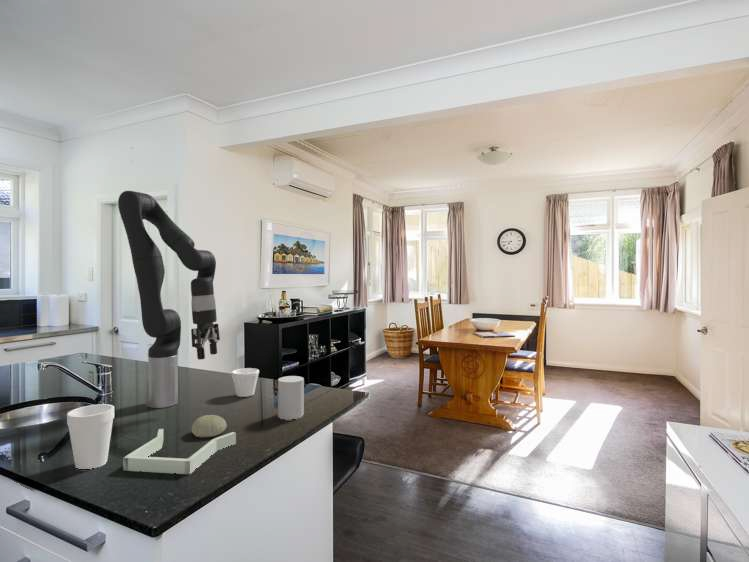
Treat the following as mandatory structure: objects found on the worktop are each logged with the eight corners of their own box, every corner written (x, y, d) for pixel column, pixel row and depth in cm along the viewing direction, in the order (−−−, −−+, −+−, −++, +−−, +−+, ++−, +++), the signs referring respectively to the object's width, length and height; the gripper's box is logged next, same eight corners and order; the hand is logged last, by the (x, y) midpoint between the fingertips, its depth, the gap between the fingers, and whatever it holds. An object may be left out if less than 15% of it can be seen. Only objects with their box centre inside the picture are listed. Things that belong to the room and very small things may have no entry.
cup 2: (308, 413, 137) (308, 377, 137) (295, 421, 130) (295, 383, 129) (286, 410, 140) (286, 375, 140) (273, 418, 132) (273, 380, 132)
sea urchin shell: (217, 434, 114) (199, 412, 115) (199, 452, 115) (181, 430, 116) (235, 422, 123) (217, 402, 124) (218, 439, 124) (201, 419, 125)
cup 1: (260, 397, 154) (260, 372, 154) (232, 400, 151) (232, 375, 151) (257, 390, 164) (257, 367, 164) (230, 393, 160) (230, 369, 160)
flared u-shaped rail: (111, 469, 97) (111, 457, 97) (159, 439, 115) (159, 428, 115) (202, 475, 95) (202, 462, 95) (236, 443, 113) (236, 432, 113)
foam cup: (83, 456, 104) (83, 404, 104) (122, 454, 105) (122, 403, 105) (58, 474, 95) (57, 417, 95) (100, 472, 96) (100, 416, 95)
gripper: (204, 308, 148) (207, 353, 148) (181, 311, 134) (185, 361, 134) (224, 306, 147) (227, 352, 147) (203, 309, 133) (207, 360, 133)
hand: (207, 356), depth 140 cm, fingers open, 8 cm apart
